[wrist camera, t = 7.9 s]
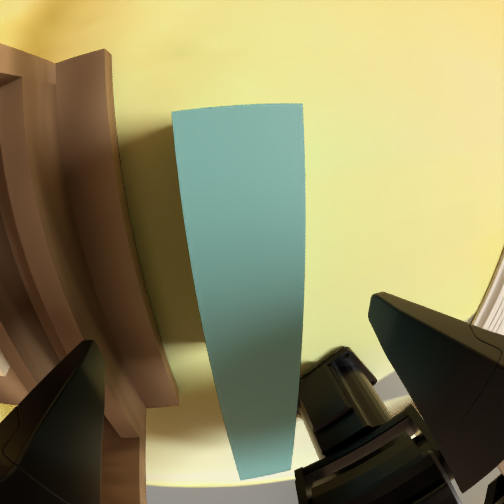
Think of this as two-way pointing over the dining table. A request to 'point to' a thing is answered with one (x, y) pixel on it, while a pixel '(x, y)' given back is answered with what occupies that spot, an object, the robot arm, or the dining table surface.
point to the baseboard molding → (492, 304)
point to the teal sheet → (248, 266)
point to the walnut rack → (75, 253)
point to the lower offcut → (3, 365)
